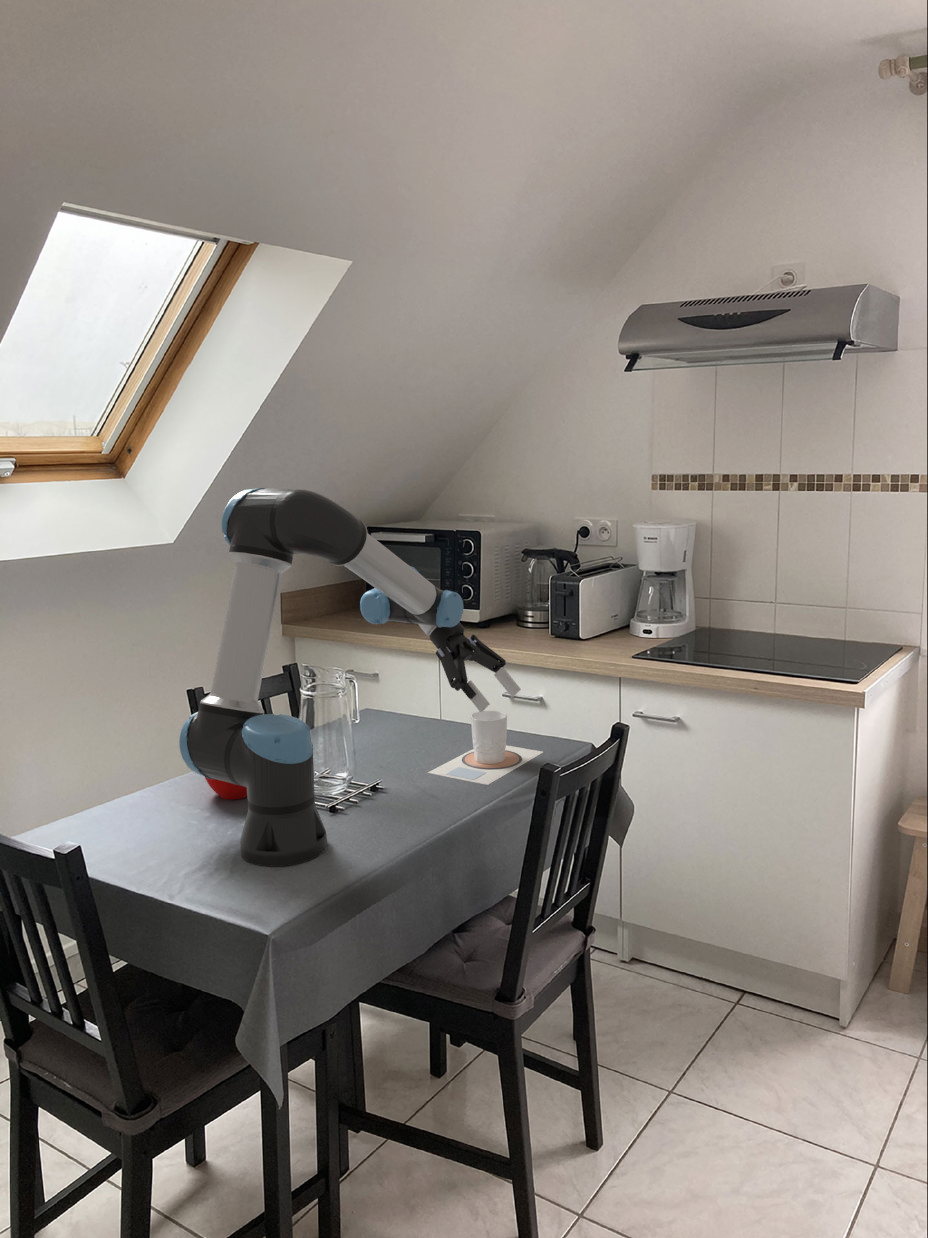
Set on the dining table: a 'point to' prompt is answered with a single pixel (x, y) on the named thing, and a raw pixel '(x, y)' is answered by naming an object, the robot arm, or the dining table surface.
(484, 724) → the white cup
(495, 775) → the white flat rectangular sheet
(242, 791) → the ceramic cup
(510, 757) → the circle mark
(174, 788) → the dining table surface
